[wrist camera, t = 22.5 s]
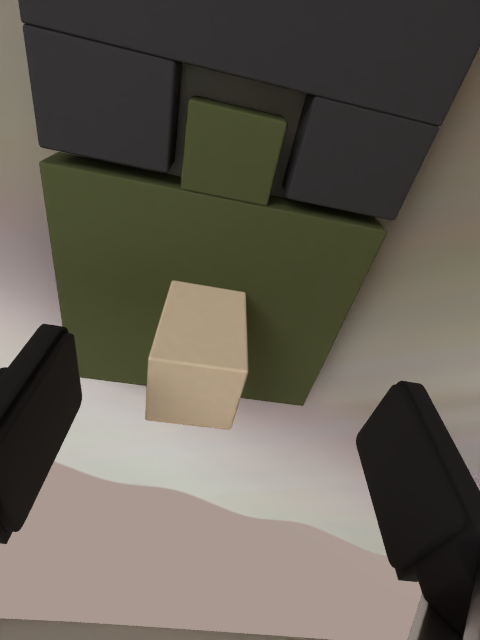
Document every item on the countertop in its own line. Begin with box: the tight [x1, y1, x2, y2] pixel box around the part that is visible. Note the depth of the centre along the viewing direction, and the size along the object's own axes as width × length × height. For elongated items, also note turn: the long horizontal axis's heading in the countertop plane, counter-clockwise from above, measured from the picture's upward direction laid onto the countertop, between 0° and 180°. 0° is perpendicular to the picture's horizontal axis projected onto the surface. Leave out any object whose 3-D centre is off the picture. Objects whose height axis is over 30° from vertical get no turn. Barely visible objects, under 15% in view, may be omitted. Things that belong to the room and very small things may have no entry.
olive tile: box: [39, 96, 387, 430], centre depth 13 cm, size 12×13×6 cm
